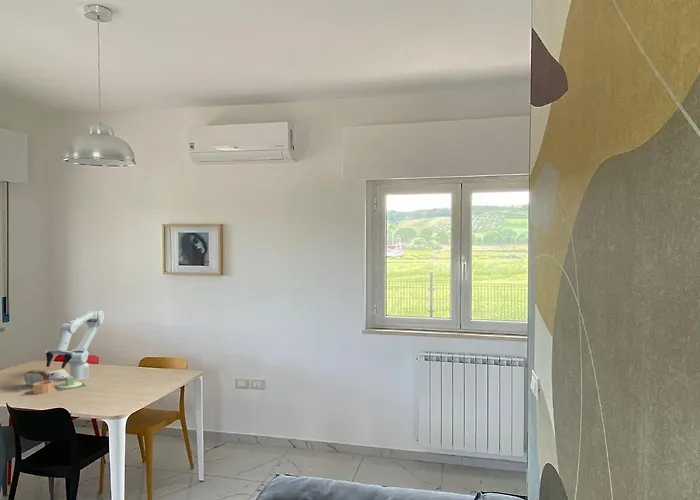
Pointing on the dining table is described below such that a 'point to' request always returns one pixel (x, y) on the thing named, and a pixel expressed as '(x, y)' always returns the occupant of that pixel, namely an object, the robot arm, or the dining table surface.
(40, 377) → the tin
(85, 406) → the dining table surface
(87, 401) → the dining table surface
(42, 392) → the bowl
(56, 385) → the mat
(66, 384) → the lid
